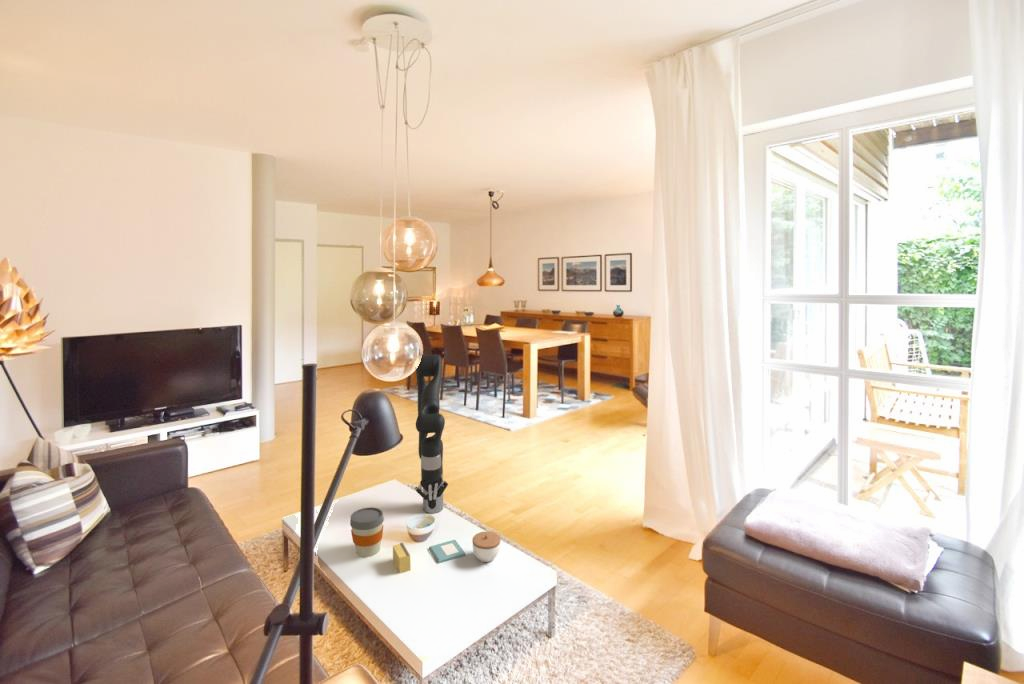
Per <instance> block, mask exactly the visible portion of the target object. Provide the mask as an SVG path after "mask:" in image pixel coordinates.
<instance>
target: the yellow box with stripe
mask: <svg viewBox="0 0 1024 684" xmlns="http://www.w3.org/2000/svg"><path fill="white" fill-rule="evenodd" d="M392 561H393V563H394V565H395V566H396V569H397V570H398V573H399V574H401V573H405V572H408V571H411V569H412V568H411V554H410V552H409V550H408V549H407V547H406V545H405V544H404V542H400V543H398V544H397V543H396V544H394V545H392Z"/></svg>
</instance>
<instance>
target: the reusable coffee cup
mask: <svg viewBox="0 0 1024 684" xmlns="http://www.w3.org/2000/svg"><path fill="white" fill-rule="evenodd" d="M384 521H385V518H384V512H383V510H382V509H380V508H378V507H362V508H360V509H357V510H355V511H354V512H353V513H351V515H350V521H349V525H350V527H351V530H350V531H351V533H350V534H351V538H352V543H353V544H354V547H355V553H356V555H357V556H358V557H361V558H370V557H373V556H375V555H377V554H378V553H379V552H380V551H381V543H382V539H383V534H384V533H383V532H384V524H383V523H384Z"/></svg>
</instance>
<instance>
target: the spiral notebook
mask: <svg viewBox="0 0 1024 684" xmlns="http://www.w3.org/2000/svg"><path fill="white" fill-rule="evenodd" d="M428 549H429V551H430V553H431V554H432V556H433V557H434V558H435V560H436V561H437V563H438V564H441V563H444V561H445V562H448V561H452V560H454V558H455V559H458V558H461V556H462V557H465V556H466V554H467V553H466V552H465V550H464V549H463V548H462V546H460V544H459V542H458V541H457V540H456V539H452V540H449V541H444V542H441V543H438V544H434V545H431V546H429V547H428Z"/></svg>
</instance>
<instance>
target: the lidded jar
mask: <svg viewBox="0 0 1024 684" xmlns="http://www.w3.org/2000/svg"><path fill="white" fill-rule="evenodd" d="M471 543H472V550H473V553H474V555H475V557H476V558H478V560H479V561H481V562H483V563H489V562H492V561H493V560H494V559H495V558H496V557H497V556H498V554H499V552H500V550H501V548H500V547H501V537H500V535H499V534H497V532H493V531H481V532H478V533H475V534H474V535H473V537H472V541H471Z"/></svg>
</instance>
